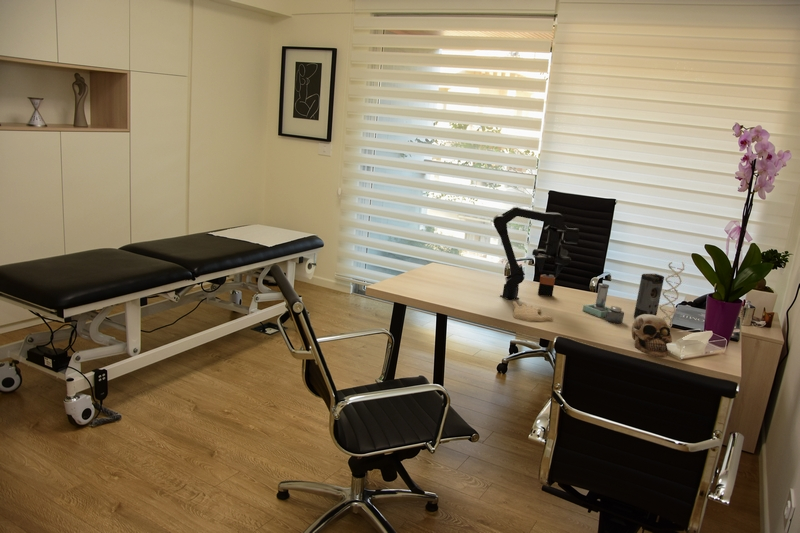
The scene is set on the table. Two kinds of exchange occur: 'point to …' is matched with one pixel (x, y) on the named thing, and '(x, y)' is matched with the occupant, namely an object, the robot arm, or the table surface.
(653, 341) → the tan skull model
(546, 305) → the table surface
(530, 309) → the hand model
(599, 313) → the tray
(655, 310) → the electronic device
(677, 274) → the dna model
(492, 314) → the table surface
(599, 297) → the grey cylindrical piece
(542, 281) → the battery
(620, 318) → the calibration weight
